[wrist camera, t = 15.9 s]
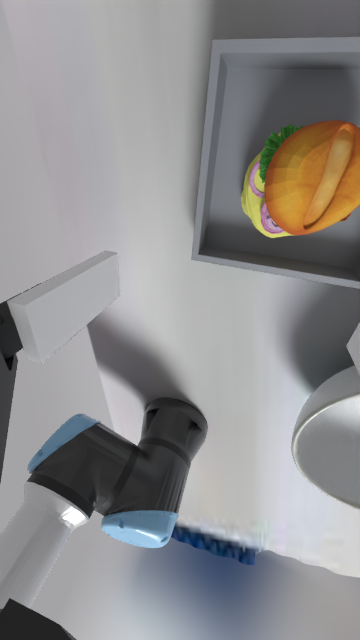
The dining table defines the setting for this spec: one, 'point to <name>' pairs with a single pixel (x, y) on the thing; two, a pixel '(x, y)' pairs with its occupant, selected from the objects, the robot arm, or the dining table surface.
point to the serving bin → (249, 140)
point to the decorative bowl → (331, 438)
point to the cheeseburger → (304, 179)
